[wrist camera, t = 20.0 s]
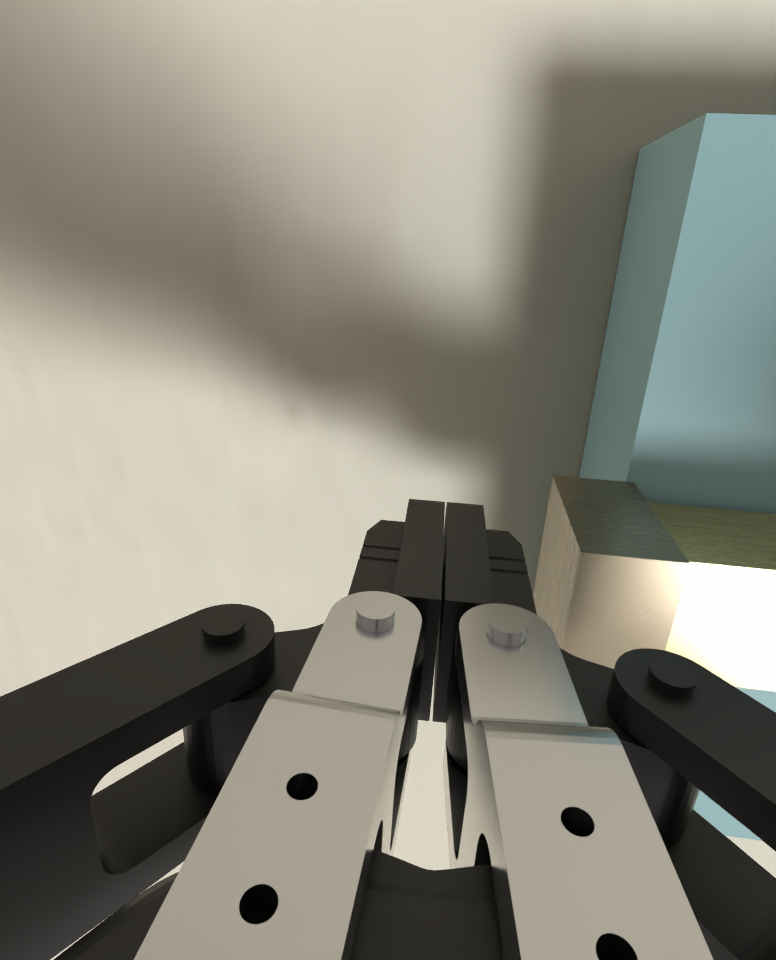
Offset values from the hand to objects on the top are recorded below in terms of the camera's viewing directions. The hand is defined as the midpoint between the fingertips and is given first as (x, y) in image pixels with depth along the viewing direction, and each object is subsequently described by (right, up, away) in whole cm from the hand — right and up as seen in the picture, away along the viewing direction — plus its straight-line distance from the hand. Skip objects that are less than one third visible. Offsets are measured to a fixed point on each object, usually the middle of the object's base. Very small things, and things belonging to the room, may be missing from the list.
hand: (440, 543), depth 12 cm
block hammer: (+7, -1, 0) cm, 7 cm away
